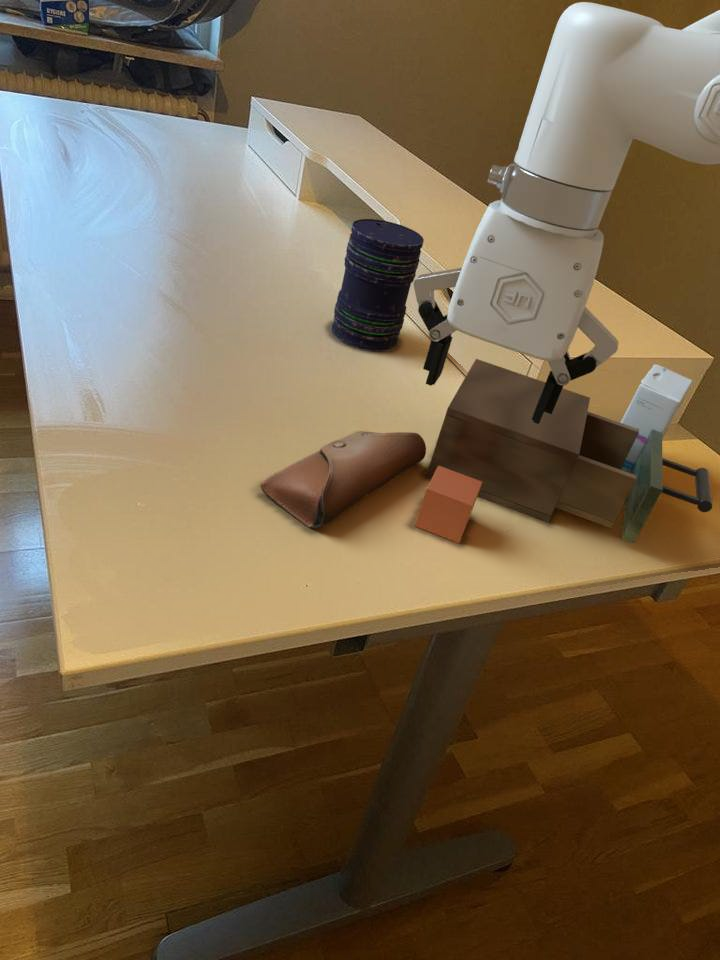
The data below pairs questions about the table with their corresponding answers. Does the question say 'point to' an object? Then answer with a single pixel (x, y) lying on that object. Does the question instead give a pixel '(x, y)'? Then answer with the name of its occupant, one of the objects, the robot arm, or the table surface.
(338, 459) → the sunglasses case
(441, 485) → the block
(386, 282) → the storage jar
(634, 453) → the ink box
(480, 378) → the cabinet
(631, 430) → the drawer
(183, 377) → the table surface
